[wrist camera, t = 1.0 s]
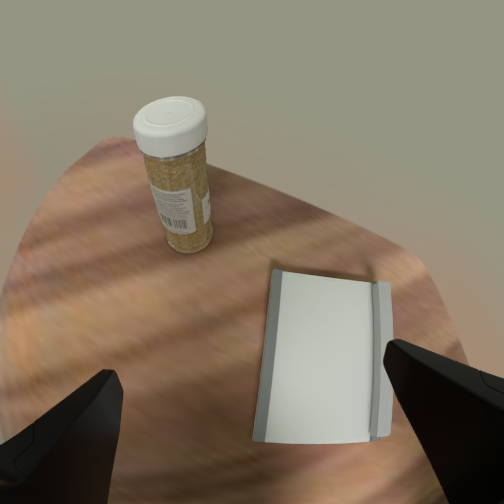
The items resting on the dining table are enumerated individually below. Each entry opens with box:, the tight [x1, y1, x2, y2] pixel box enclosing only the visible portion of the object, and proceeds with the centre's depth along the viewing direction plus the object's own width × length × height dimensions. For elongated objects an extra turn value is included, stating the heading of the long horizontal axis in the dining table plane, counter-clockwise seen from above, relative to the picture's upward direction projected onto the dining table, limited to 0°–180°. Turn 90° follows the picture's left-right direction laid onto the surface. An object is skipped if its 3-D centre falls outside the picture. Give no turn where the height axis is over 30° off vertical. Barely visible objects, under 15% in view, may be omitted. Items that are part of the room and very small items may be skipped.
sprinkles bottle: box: [133, 96, 213, 253], centre depth 21 cm, size 5×5×14 cm
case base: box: [252, 268, 393, 444], centre depth 21 cm, size 14×10×2 cm
